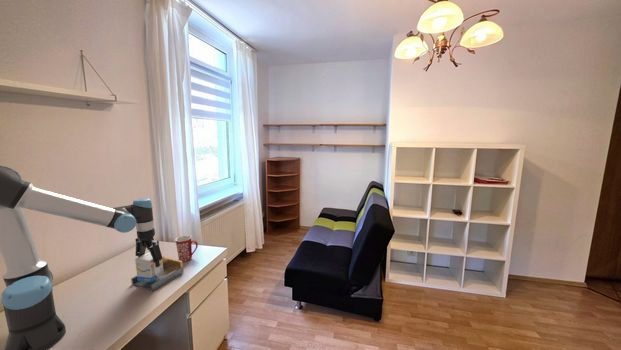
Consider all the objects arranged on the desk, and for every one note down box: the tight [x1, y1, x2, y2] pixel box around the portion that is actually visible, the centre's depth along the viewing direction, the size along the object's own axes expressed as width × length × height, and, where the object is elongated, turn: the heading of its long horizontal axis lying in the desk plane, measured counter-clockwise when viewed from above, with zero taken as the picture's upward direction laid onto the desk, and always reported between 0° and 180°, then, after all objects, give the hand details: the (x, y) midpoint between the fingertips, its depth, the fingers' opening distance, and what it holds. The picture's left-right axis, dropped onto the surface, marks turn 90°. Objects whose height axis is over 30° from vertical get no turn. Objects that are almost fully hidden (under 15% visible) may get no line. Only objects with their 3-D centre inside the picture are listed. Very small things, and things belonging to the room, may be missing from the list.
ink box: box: [134, 251, 164, 282], centre depth 129 cm, size 9×8×12 cm
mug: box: [174, 234, 199, 263], centre depth 154 cm, size 13×9×14 cm
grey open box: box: [130, 255, 184, 292], centre depth 133 cm, size 18×15×7 cm
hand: (150, 270), depth 129 cm, fingers closed on ink box, 9 cm apart
